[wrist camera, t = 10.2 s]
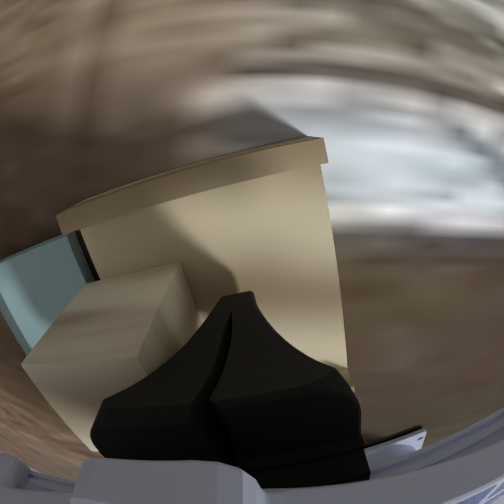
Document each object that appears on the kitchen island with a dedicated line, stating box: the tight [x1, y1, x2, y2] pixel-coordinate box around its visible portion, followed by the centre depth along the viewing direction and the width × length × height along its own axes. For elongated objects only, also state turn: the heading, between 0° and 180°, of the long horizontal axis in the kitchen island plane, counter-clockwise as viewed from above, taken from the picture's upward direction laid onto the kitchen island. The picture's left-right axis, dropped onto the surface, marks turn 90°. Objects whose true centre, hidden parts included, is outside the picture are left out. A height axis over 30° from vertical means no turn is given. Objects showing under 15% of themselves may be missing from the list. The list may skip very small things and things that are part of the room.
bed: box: [55, 136, 354, 392], centre depth 13 cm, size 12×10×2 cm
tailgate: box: [0, 231, 95, 355], centre depth 13 cm, size 9×1×6 cm
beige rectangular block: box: [21, 262, 202, 452], centre depth 10 cm, size 4×4×6 cm
